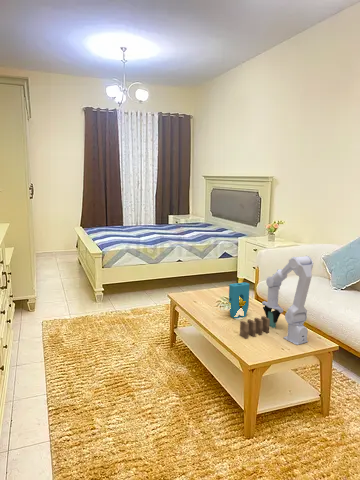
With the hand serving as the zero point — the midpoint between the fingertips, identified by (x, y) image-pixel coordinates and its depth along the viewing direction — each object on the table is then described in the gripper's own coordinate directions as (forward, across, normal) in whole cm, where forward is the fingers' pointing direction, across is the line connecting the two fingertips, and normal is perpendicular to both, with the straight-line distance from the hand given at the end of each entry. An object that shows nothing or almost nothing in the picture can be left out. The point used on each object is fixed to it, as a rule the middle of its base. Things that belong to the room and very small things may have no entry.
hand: (271, 320), depth 206 cm
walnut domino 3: (+3, -4, +13) cm, 14 cm away
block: (+3, +21, +7) cm, 22 cm away
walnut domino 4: (+3, -4, +9) cm, 10 cm away
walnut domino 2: (+3, -4, +18) cm, 19 cm away
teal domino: (+3, 0, 0) cm, 3 cm away
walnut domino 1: (+3, -4, +23) cm, 24 cm away
